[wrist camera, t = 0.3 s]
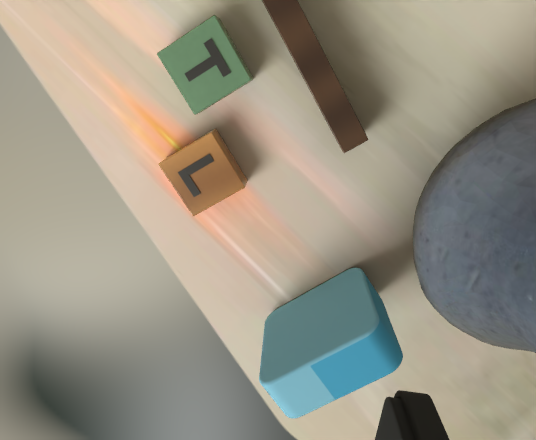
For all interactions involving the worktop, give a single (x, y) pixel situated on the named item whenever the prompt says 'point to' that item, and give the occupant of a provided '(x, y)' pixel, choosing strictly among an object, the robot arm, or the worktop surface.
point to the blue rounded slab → (327, 344)
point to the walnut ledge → (316, 72)
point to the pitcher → (483, 232)
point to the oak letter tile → (204, 172)
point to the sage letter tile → (205, 65)
